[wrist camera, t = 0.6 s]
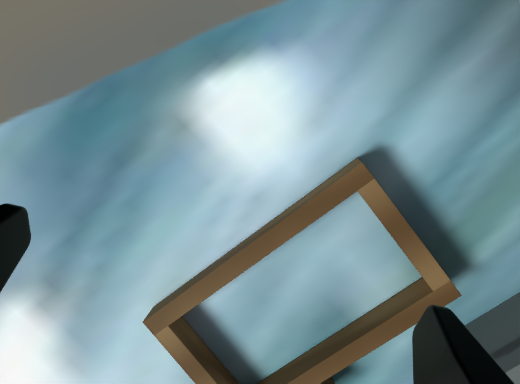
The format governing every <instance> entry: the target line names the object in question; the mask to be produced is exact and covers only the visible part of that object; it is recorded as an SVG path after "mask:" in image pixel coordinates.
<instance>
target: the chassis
mask: <svg viewBox="0 0 520 384" xmlns="http://www.w3.org/2000/svg"><path fill="white" fill-rule="evenodd" d="M356 191H358V192H359V194H360V195H361V196H362V198H363V199H364V200H365V201H366V203H367V204H368V205H369V207H370V208H371V209H372V211H373V212H374V213H375V215H376V216H377V217H378V219H379V220H380V221H381V223H382V224H383V225H384V227H385V228H386V229H387V231H388V232H389V233H390V235H391V236H392V237H393V239H394V240H395V241H396V243H397V244H398V245H399V247H400V248H401V249H402V251H403V252H404V253H405V254H406V256H407V257H408V258H409V260H410V261H411V262H412V264H413V265H414V266H415V268H416V269H417V270H418V272H419V273H420V274H421V276H422V278H421V279H419V280H418V281H416V282H415V283H413V284H411V285H410V286H408V287H407V288H405V289H404V290H402V291H401V292H399V293H397V294H396V295H394V296H393V297H391V298H390V299H388V300H387V301H385V302H383V303H382V304H380V305H379V306H377V307H376V308H374V309H373V310H371V311H369V312H368V313H366V314H365V315H363V316H362V317H360V318H359V319H357V320H355V321H354V322H352V323H351V324H349V325H348V326H346V327H345V328H343V329H341V330H340V331H338V332H337V333H335V334H334V335H332V336H331V337H329V338H327V339H326V340H324V341H323V342H321V343H320V344H318V345H317V346H315V347H313V348H312V349H310V350H309V351H307V352H306V353H304V354H303V355H301V356H299V357H298V358H296V359H295V360H293V361H292V362H290V363H289V364H287V365H285V366H284V367H282V368H281V369H279V370H278V371H276V372H275V373H273V374H271V375H270V376H268V377H267V378H265V379H264V380H262V381H261V382H259V383H258V384H335V383H334V381H333V380H332V379H331V376H333V375H334V374H336V373H338V372H339V371H341V370H342V369H344V368H346V367H347V366H349V365H351V364H352V363H354V362H355V361H357V360H359V359H360V358H362V357H363V356H365V355H367V354H368V353H370V352H371V351H373V350H375V349H376V348H378V347H380V346H381V345H383V344H384V343H386V342H388V341H389V340H391V339H392V338H394V337H396V336H397V335H399V334H400V333H402V332H404V331H405V330H407V329H409V328H410V327H412V326H413V325H415V324H417V323H418V321H419V320H420V318H421V316H422V315H423V313H424V311H425V310H426V308H427V307H428V306H429V305H437V306H441V307H444V306H446V305H447V304H449V303H450V302H452V301H454V300H455V299H457V298H458V297H460V296H462V295H461V294H460V292H459V291H458V290H457V288H456V287H455V286H454V284H453V283H452V282H451V280H450V279H449V278H448V276H447V275H446V274H445V272H444V271H443V270H442V268H441V267H440V266H439V264H438V263H437V262H436V260H435V259H434V258H433V256H432V255H431V254H430V252H429V251H428V250H427V248H426V247H425V246H424V244H423V243H422V242H421V240H420V239H419V238H418V236H417V235H416V234H415V232H414V231H413V229H412V228H411V227H410V225H409V224H408V223H407V221H406V220H405V219H404V217H403V216H402V215H401V213H400V212H399V211H398V209H397V208H396V207H395V205H394V204H393V203H392V201H391V200H390V199H389V197H388V196H387V195H386V193H385V192H384V191H383V189H382V188H381V187H380V185H379V184H378V183H377V181H376V180H375V179H374V177H373V176H372V175H371V173H370V172H369V171H368V169H367V168H366V167H365V165H364V164H363V163H362V162H361V161H360V160H359V159H358V158H356V159H355V160H353V161H352V162H351V163H349V164H348V165H347V166H345V167H344V168H342V169H341V170H340V171H338V172H337V173H336V174H334V175H333V176H332V177H330V178H329V179H327V180H326V181H325V182H323V183H322V184H321V185H319V186H318V187H316V188H315V189H314V190H312V191H311V192H310V193H308V194H307V195H306V196H304V197H303V198H301V199H300V200H299V201H297V202H296V203H295V204H293V205H292V206H291V207H289V208H288V209H286V210H285V211H284V212H282V213H281V214H280V215H278V216H277V217H276V218H274V219H273V220H271V221H270V222H269V223H267V224H266V225H265V226H263V227H262V228H260V229H259V230H258V231H256V232H255V233H254V234H252V235H251V236H250V237H248V238H247V239H245V240H244V241H243V242H241V243H240V244H239V245H237V246H236V247H235V248H233V249H232V250H230V251H229V252H228V253H226V254H225V255H224V256H222V257H221V258H220V259H218V260H217V261H215V262H214V263H213V264H211V265H210V266H209V267H207V268H206V269H204V270H203V271H202V272H200V273H199V274H198V275H196V276H195V277H194V278H192V279H191V280H189V281H188V282H187V283H185V284H184V285H183V286H181V287H180V288H179V289H177V290H176V291H174V292H173V293H172V294H170V295H169V296H168V297H166V298H165V299H163V300H162V301H161V302H159V303H158V304H157V305H155V306H154V307H153V308H152V310H151V311H150V312H149V314H148V315H147V317H146V318H145V319H144V321H143V323H144V324H145V326H146V327H147V328H148V329H149V330H150V331H151V332H152V334H153V335H154V336H155V337H156V338H157V339H158V341H159V342H160V343H161V344H162V345H163V346H164V348H165V349H166V350H167V351H168V352H169V353H170V355H171V356H172V357H173V358H174V359H175V360H176V362H177V363H178V364H179V365H180V366H181V367H182V368H183V370H184V371H185V372H186V373H187V374H188V375H189V377H190V378H191V379H192V380H193V381H194V382H195V384H239V383H238V382H237V381H236V380H235V378H234V377H233V376H232V375H231V374H230V373H229V371H228V370H227V369H226V368H225V367H224V365H223V364H222V363H221V362H220V361H219V360H218V358H217V357H216V356H215V355H214V354H213V352H212V351H211V350H210V349H209V348H208V347H207V345H206V344H205V343H204V342H203V341H202V339H201V338H200V337H199V336H198V335H197V334H196V332H195V331H194V330H193V329H192V328H191V326H190V325H189V324H188V323H187V322H186V321H185V319H184V318H183V317H182V316H183V315H184V314H185V313H187V312H188V311H190V310H191V309H192V308H194V307H195V306H197V305H198V304H199V303H201V302H202V301H204V300H205V299H206V298H208V297H209V296H211V295H212V294H213V293H215V292H216V291H218V290H219V289H220V288H222V287H223V286H225V285H226V284H227V283H229V282H230V281H232V280H233V279H234V278H236V277H237V276H239V275H240V274H241V273H243V272H244V271H246V270H247V269H248V268H250V267H251V266H253V265H254V264H255V263H257V262H258V261H260V260H261V259H262V258H264V257H265V256H267V255H268V254H269V253H271V252H272V251H274V250H275V249H276V248H278V247H279V246H281V245H282V244H283V243H285V242H286V241H288V240H289V239H290V238H292V237H293V236H295V235H296V234H298V233H299V232H300V231H302V230H303V229H305V228H306V227H307V226H309V225H310V224H312V223H313V222H314V221H316V220H317V219H319V218H320V217H321V216H323V215H324V214H326V213H327V212H328V211H330V210H331V209H333V208H334V207H335V206H337V205H338V204H340V203H341V202H342V201H344V200H345V199H347V198H348V197H349V196H351V195H352V194H354V193H355V192H356Z"/></svg>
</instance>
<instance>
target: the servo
mask: <svg viewBox="0 0 520 384" xmlns="http://www.w3.org/2000/svg"><path fill="white" fill-rule="evenodd" d="M465 327H466V328H467V329H468V330H469V331H470V333H471V334H472V335H473V336H474V337H475V338H476V340H477V341H478V342H479V343H480V344H481V345H482V346H483V348H484V349H485V350H486V351H487V352H488V353H489V355H490V356H491V357H492V358H493V359H494V360H495V362H496V363H497V364H498V365H499V366H500V367H501V368H502V370H503V371H504V372H505V373H506V374H507V375H508V377H509V378H510V379H511V380H512V381H513V382H514V384H520V293H518V294H516V295H515V296H513V297H511V298H510V299H508V300H506V301H505V302H503V303H501V304H500V305H498V306H496V307H495V308H493V309H491V310H490V311H488V312H486V313H485V314H483V315H482V316H480V317H478V318H477V319H475V320H473V321H472V322H470V323H468V324H467V325H465Z"/></svg>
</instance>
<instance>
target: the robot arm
mask: <svg viewBox="0 0 520 384" xmlns="http://www.w3.org/2000/svg"><path fill="white" fill-rule="evenodd" d="M30 240H31V232H30V225H29V219H28V213H27V210H26V209H25V208H24V207H21V206H17V205H13V204H2V205H0V292H1V291H2V289H3V287H4V286H5V284H6V282H7V281H8V279H9V277H10V276H11V274H12V273H13V271H14V269H15V268H16V266H17V264H18V263H19V261H20V259H21V258H22V256H23V254H24V253H25V251H26V250H27V248H28V246H29V244H30ZM412 344H413V381H414V384H514V382H513V381H512V380H511V379H510V378H509V377H508V375H507V374H506V373H505V372H504V371H503V370H502V368H501V367H500V366H499V365H498V364H497V363H496V362H495V360H494V359H493V358H492V357H491V356H490V355H489V353H488V352H487V351H486V350H485V349H484V348H483V346H482V345H481V344H480V343H479V342H478V341H477V340H476V338H475V337H474V336H473V335H472V334H471V333H470V331H469V330H468V329H467V328H466V327H465V326H464V324H463V323H462V322H461V321H460V320H459V319H458V318H457V316H456V315H455V314H454V313H453V312H452V311H451V310H450V309H448V308H445V307H441V306H437V305H429V306H428V307H427V308H426V310H425V311H424V313H423V315H422V316H421V318H420V320H419V321H418V323H417V325H416V326H415V328H414V331H413V337H412Z"/></svg>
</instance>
